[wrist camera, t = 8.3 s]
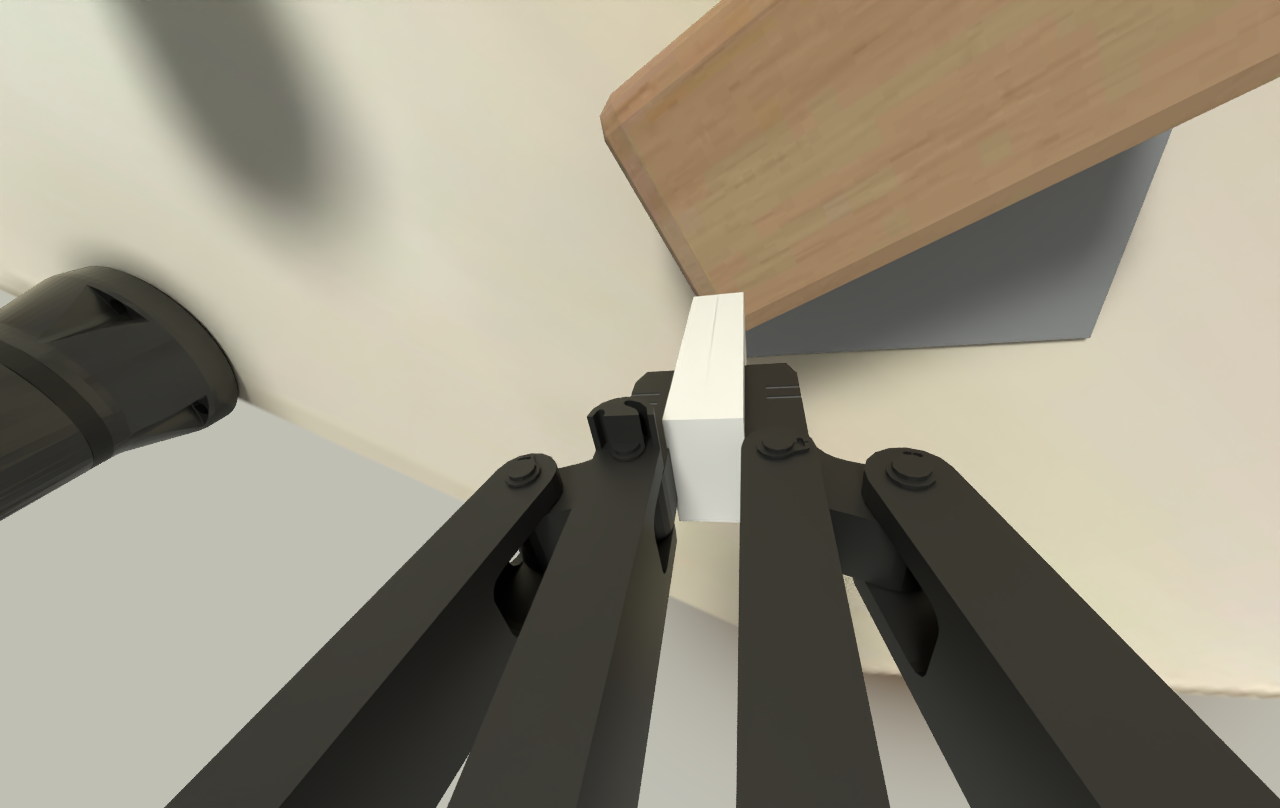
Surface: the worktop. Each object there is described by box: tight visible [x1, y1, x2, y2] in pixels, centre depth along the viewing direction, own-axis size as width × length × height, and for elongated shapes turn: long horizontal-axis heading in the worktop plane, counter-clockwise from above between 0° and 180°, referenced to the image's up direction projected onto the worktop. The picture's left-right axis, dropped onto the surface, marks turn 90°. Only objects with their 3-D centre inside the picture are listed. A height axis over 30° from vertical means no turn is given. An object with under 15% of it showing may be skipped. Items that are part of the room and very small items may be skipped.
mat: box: [745, 128, 1172, 357], centre depth 23 cm, size 20×16×1 cm
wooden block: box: [600, 0, 1280, 331], centre depth 17 cm, size 10×10×20 cm
